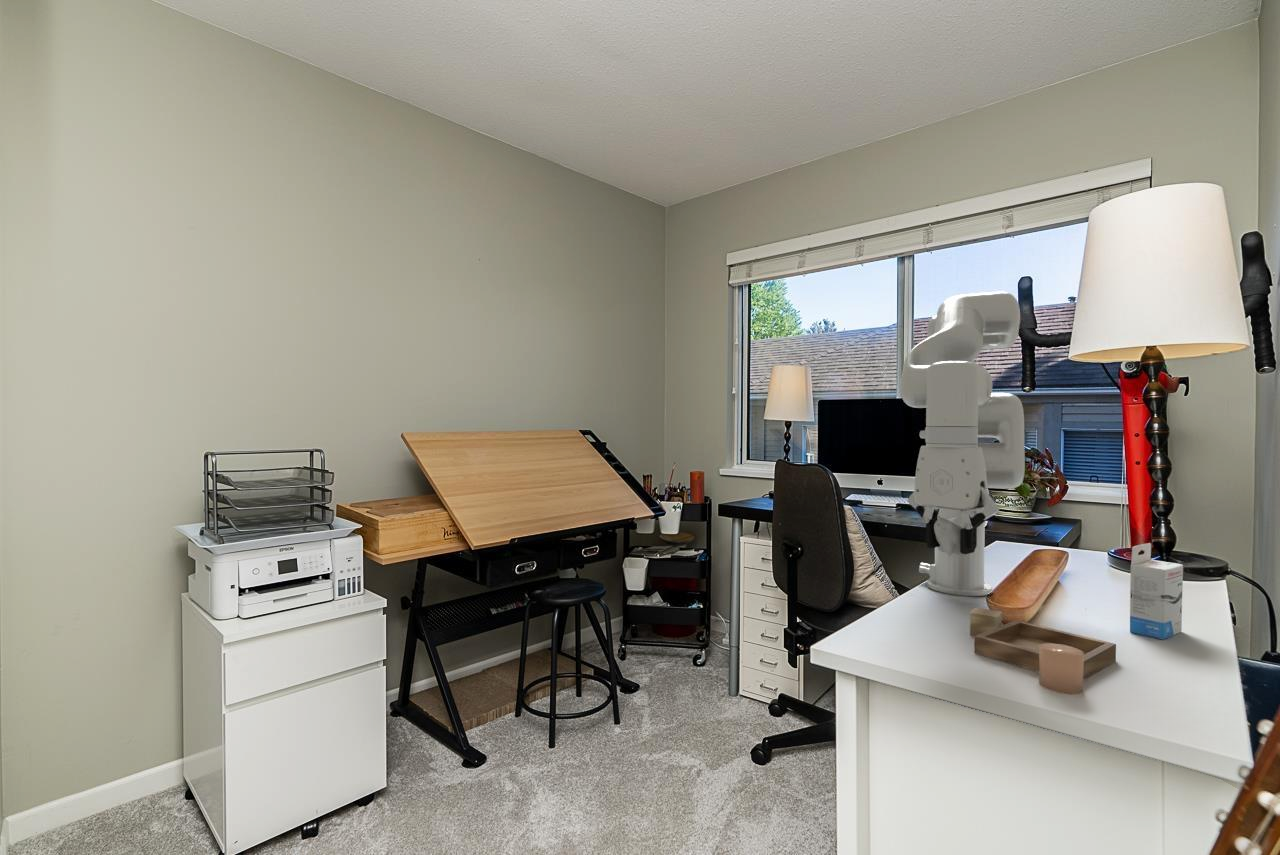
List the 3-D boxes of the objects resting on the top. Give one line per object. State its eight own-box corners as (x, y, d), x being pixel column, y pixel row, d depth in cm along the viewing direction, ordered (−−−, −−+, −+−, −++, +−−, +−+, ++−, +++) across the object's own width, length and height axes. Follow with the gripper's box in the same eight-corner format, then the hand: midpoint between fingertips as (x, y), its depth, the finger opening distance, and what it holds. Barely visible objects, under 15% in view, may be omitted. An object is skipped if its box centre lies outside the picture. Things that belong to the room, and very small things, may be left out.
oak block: (970, 636, 106) (970, 612, 106) (975, 630, 109) (975, 607, 109) (997, 641, 103) (997, 617, 103) (1001, 635, 106) (1001, 611, 106)
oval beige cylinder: (1032, 684, 86) (1032, 648, 86) (1048, 676, 89) (1048, 640, 89) (1074, 697, 82) (1074, 659, 82) (1089, 688, 85) (1089, 651, 85)
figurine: (973, 567, 100) (947, 536, 97) (937, 570, 104) (912, 541, 102) (978, 527, 104) (954, 497, 102) (944, 531, 109) (920, 502, 106)
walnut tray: (974, 652, 98) (974, 636, 98) (1016, 635, 106) (1016, 620, 106) (1078, 683, 86) (1078, 664, 86) (1115, 661, 95) (1115, 643, 95)
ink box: (1164, 640, 104) (1165, 551, 104) (1128, 632, 108) (1129, 546, 108) (1183, 631, 109) (1184, 546, 108) (1148, 624, 113) (1148, 541, 113)
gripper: (890, 437, 107) (889, 544, 107) (993, 439, 93) (992, 562, 93) (915, 436, 112) (915, 539, 112) (1018, 439, 98) (1017, 556, 98)
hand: (950, 548), depth 103 cm, fingers closed on figurine, 4 cm apart
